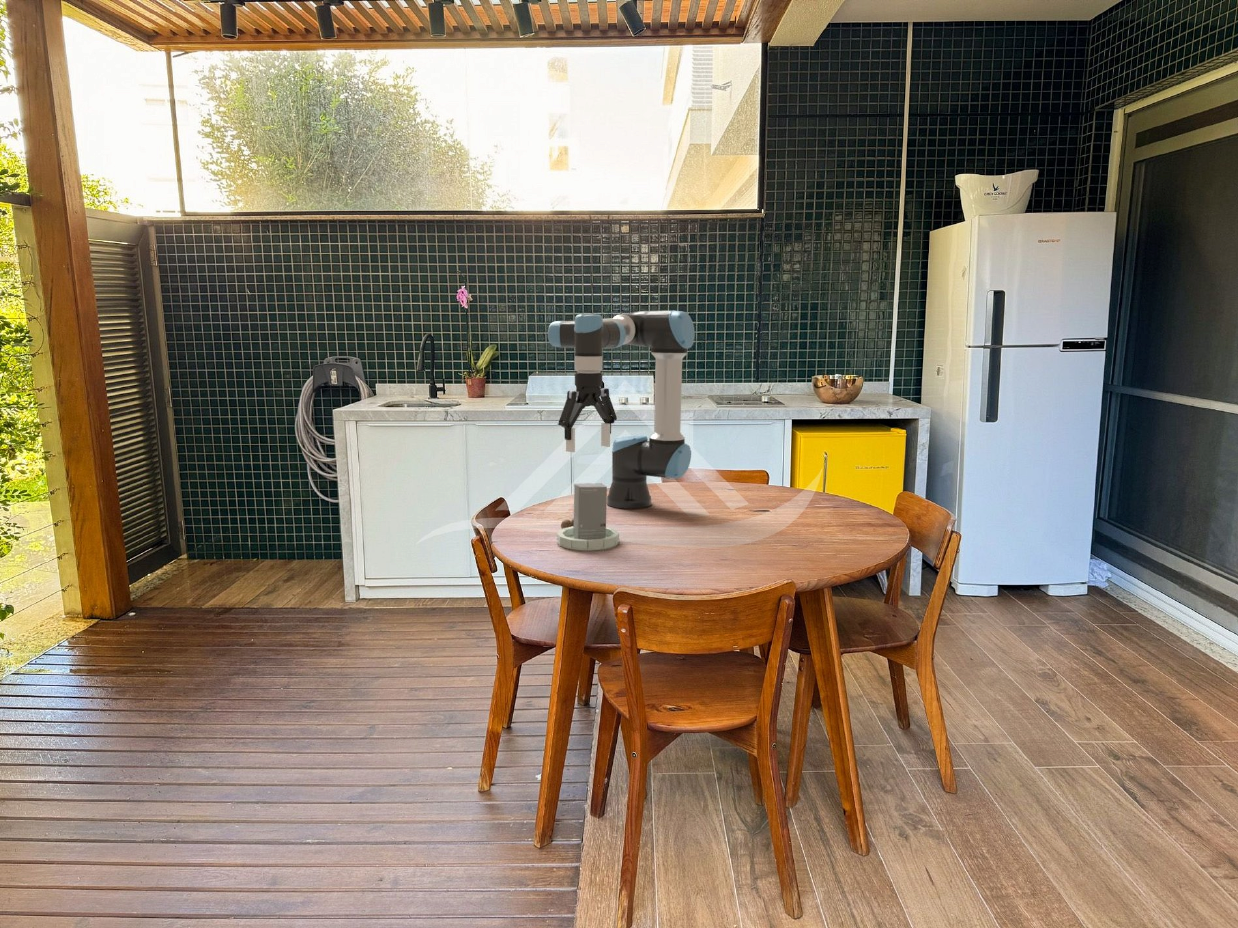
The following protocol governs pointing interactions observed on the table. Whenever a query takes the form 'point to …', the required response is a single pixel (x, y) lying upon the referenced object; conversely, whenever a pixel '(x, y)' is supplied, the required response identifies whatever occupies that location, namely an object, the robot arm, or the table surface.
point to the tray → (570, 542)
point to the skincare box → (590, 511)
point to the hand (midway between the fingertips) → (588, 449)
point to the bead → (566, 524)
